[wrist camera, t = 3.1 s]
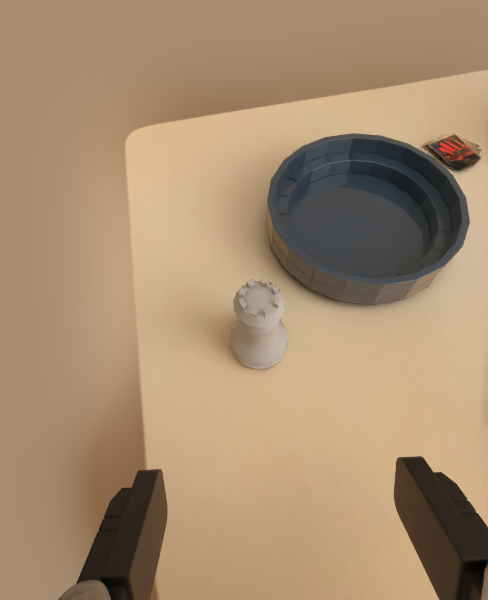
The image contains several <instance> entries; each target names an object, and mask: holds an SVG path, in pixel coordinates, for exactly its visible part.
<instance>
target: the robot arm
mask: <svg viewBox="0 0 488 600" xmlns="http://www.w3.org/2000/svg"><path fill="white" fill-rule="evenodd" d="M394 501H395V505H396V509H397V512H398V514H399V517H400V519H401V521H402V523H403V525H404V527H405V529H406V531H407V533H408V535H409V537H410V540H411V542H412V544H413V546H414V548H415V550H416V552H417V554H418V556H419V558H420V560H421V562H422V565H423V567H424V569H425V571H426V573H427V575H428V577H429V579H430V581H431V583H432V585H433V587H434V590H435V592H436V594H437V596H438V598H439V600H488V527H487V525H486V524H485V523H484V521H483V520H482V519H481V517H480V516H479V514H478V513H476V511H475V509H474V508H473V506H472V505H471V503H470V502H469V501H467V498H466V496H465V495H464V494H463V492H462V491H461V490H460V488H459V487H458V485H457V484H456V483H455V482H453V481H452V480H451V479H449V478H448V477H447V476H446V475H444V474H443V473H442V472H436V473H433V471H432V470H431V468H430V467H429V465H428V464H427V462H426V461H425V459H424V458H423V457H421V456H417V457H399V458H398V459H397V462H396V473H395V485H394ZM166 523H167V500H166V493H165V486H164V480H163V473H162V470H161V469H155V470H139V471H138V473H137V475H136V478H135V480H134V483H133V486H132V488H122V489H121V490H120V491H119V492H118V493H117V494H116V495H115V497H114V498H113V499H112V500H111V501H110V503H109V506H108V509H107V511H106V513H105V516H104V519H103V521H102V523H101V525H100V528H99V532H98V533H97V535H96V537H95V540H94V542H93V545H92V547H91V550H90V552H89V554H88V557H87V560H86V562H85V564H84V567H83V569H82V571H81V574H80V576H79V579H78V581H77V583H76V585H74V586H73V587H71V588H70V589H68V590H67V591H66V592H65V593H64V594H63V595H62V596H61V597H60V598H59V599H58V600H150V596H151V592H152V588H153V583H154V578H155V574H156V569H157V565H158V560H159V556H160V551H161V546H162V542H163V537H164V533H165V528H166Z"/></svg>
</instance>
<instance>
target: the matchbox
mask: <svg viewBox="0 0 488 600" xmlns="http://www.w3.org/2000/svg"><path fill="white" fill-rule="evenodd" d="M437 138H438V140H436V141H434V142H432V141H431V142H430V141H429V142H427V143H426V144H425V146H428V145H429V146H430V148H432V149H434V150H435V152H436V153H438V154H439V155H440V156H441V157H442V158H443V159H444V160H445V161H446V162H447V163H448V164H449V165H451V166H452V167H454V168H455V169H457V170H461V169H464V168H466V167H469V166H472V165H474V164H475V163H476V162H477V161H478V160H479V159H480V158H481V157H480V156H479V155H478V154H479V153H480V151H481V149H480V148H478V147H479V146H478V145H477V144H476V145H475V143H472V142H470V141H468V140H467V139H465V140H463V139H462V138H460V136H459V135H458V134H457V133H452V134H451V135H448V136H445V137H443V138H439V137H437ZM465 141H466V142H465ZM475 151H476V152H477V153H478V154H477V153H476V152H475ZM440 160H441V159H440ZM467 170H468V169H467Z"/></svg>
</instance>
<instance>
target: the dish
mask: <svg viewBox="0 0 488 600" xmlns="http://www.w3.org/2000/svg"><path fill="white" fill-rule="evenodd" d="M469 223H470V220H469V214H468V207H467V201H466V197H465V195H464V193H463V192H462V190H461V188H460V187H459V185H458V183H457V181H456V180H455V178H454V176H453V175H452V174H451V173H450V172H449V171H448V170H447V169H445V168H444V167H443V166H442V165H441V164H440V163H439V162H438V161H437V160H436V159H435V158H433V157H432V156H430V155H428V154H426V153H424V152H423V151H421V150H419V149H417V148H415V147H413V146H412V145H410V144H408V143H404V142H401V141H397V140H394V139H391V138H387V137H384V136H379V135H366V134H354V133H353V134H345V135H338V136H330V137H325V138H322V139H320V140H317V141H315V142H312V143H310V144H307V145H304V146H303V147H301V148H299V149H298V150H297V151H295V152H294V153H293V154H292V155H290V156H289V157H288V158H286V159H285V160H284V161H283V162H282V164H281V165H280V167H279V168H278V170H277V172H276V173H275V175H274V176H273V178H272V179H271V183H270V189H269V195H268V200H267V224H266V225H267V231H268V235H269V239H270V244H271V248H272V250H273V251H274V253H275V254H276V256H277V257H278V259H279V260H280V262H281V263H282V265H283V266H284V268H285V269H286V270H287V271H288V272H289V273H290V274H292V275H293V276H294V277H295V278H297V279H298V280H299V281H300V282H302V283H303V284H304V285H305V286H307V287H308V288H309V289H311V290H313V291H316V292H318V293H321V294H323V295H326V296H328V297H330V298H333V299H335V300H338V301H344V302H352V303H360V304H368V305H373V304H379V303H386V302H392V301H399V300H403V299H405V298H407V297H409V296H411V295H413V294H415V293H417V292H419V291H421V290H423V289H425V288H427V287H428V286H429V285H430V284H431V283H432V282H433V280H434V279H435V278H436V277H437V276H438V275H439V274H440V273H441V271H442V270H443V269H444V268H445V267H446V266H447V264H448V263H449V262H450V261H451V260H452V258H453V257H454V256H455V255H456V254H457V253H458V251H459V250H460V249H461V248H462V246H463V244H464V240H465V237H466V233H467V230H468V227H469Z"/></svg>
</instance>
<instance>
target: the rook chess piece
mask: <svg viewBox="0 0 488 600" xmlns="http://www.w3.org/2000/svg"><path fill="white" fill-rule="evenodd" d="M233 303H234V311H235V313H236V315H237V317H238V318H239V320H238V321H237V322H236V324H235V325H234V328H233V331H232V333H231V348H232V351H233V353H234V355H235V357H236V359H238V360H239V361H240V362H241V363H242V364H244V365H245V366H248V367H251V368H254V369H264V368H269V367H271V366H273V365H275V364H277V363H278V362H279V361H280V360H281V359H282V357H283V356H284V355H285V352H286V349H287V345H288V343H287V341H288V339H287V332H286V329H285V327H284V325H283V324H282V322H281V320H280V318H281V317H282V315H283V313H284V310H285V307H286V304H285V297H284V295H283V294H282V292H281V291H280V289H279V288H277V286H276V285H275V286H274V285H273V284H271V283H269V280H266V279H261V281H254V279H252V280H250V281H248V282H247V284H246V285H244V286H243V287H242V288H241V289H240V290H239V291H238V292H237V293H236V296H235V298H234V301H233Z"/></svg>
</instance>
